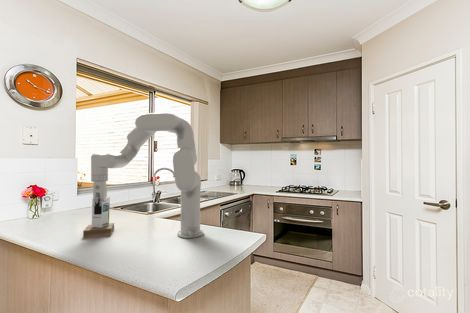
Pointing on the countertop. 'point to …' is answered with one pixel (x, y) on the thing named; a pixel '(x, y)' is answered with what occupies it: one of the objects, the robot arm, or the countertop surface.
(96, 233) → the walnut block
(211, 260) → the countertop surface
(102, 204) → the syrup box
